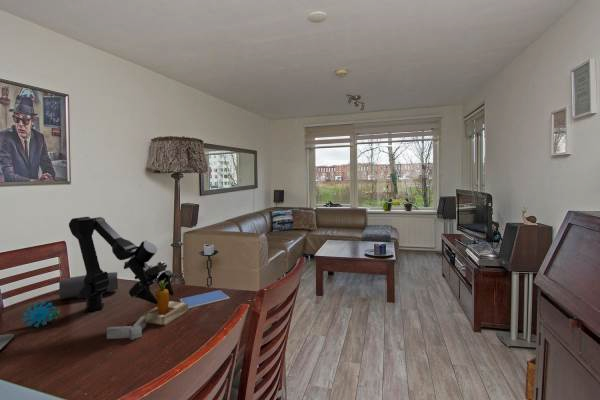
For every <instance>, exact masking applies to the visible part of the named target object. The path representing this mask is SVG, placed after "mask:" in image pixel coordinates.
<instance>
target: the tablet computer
mask: <svg viewBox="0 0 600 400" xmlns="http://www.w3.org/2000/svg"><path fill="white" fill-rule="evenodd" d="M229 299H230V297H229V296H228V295H227V294H225V293H224V292H223V291H222V290H219V289H218V290H213V291H209V292H206V293H204V292H203V293H202V294H201V293H200V294H196V295H191V296H187V297H183V298H179V302H180V303H188V310H189V309H193V308H197V307H202V306H205V305H210V304H212V303H218V302H221V301H226V300H229Z"/></svg>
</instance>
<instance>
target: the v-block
mask: <svg viewBox="0 0 600 400" xmlns="http://www.w3.org/2000/svg"><path fill="white" fill-rule="evenodd" d="M146 326H147V322H146V316H143V315H142V316H140V317H139V319H138V320H136V322H135V323H134V324H133V325H129V326H128V325H125V326H108V327H107V328H106V339H107V340H109V339H110V340H111V339H114V340H115V339H130V340H131V341H133V340H136V339H139V338H141V337H143V333H142V331H143V330H144V329H145V327H146Z"/></svg>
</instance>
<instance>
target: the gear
mask: <svg viewBox="0 0 600 400" xmlns="http://www.w3.org/2000/svg"><path fill="white" fill-rule="evenodd" d="M33 307H34V309H33V310H32V307H31V306H29V307H27V308H26V311H27V312H30V314H28V313H27V312H24V313H23V315H22V317H24V318H23V323H27V326H28V327H32V326H34V327H35V328H39V327H40V324H42V326H46V325H47V323H48V322H47V319H48V321H49V322H52V321H54V320H57V318H58V315H60V314H61V311H60V310H59V309H58V310H56V309H57V308H56V306H55V305H53V303H52V302H48V303H47V304H46V301H43V300H42V301H41V303H40V305H39V303H38V302H35V303H33ZM50 310H52V311H50ZM55 310H56V311H55ZM26 317H29V318H26ZM30 321H31V322H30Z"/></svg>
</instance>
